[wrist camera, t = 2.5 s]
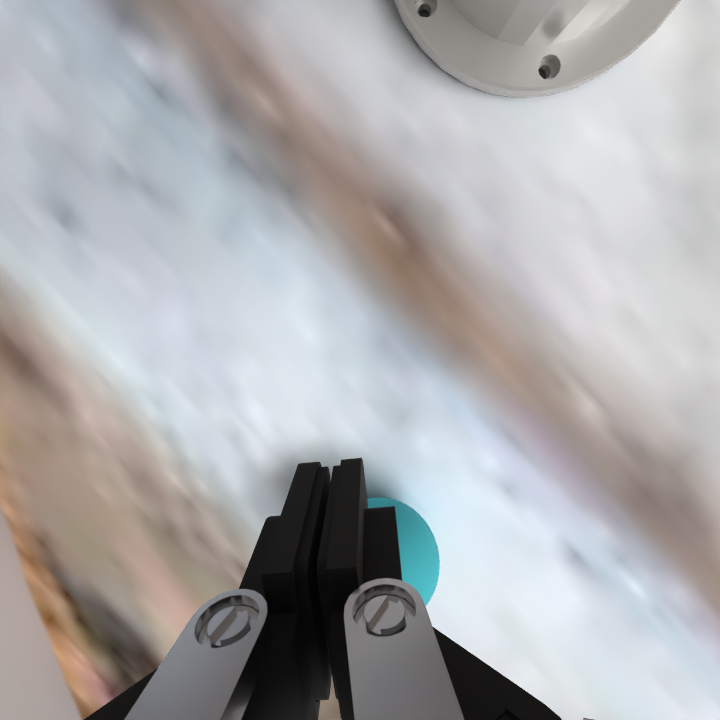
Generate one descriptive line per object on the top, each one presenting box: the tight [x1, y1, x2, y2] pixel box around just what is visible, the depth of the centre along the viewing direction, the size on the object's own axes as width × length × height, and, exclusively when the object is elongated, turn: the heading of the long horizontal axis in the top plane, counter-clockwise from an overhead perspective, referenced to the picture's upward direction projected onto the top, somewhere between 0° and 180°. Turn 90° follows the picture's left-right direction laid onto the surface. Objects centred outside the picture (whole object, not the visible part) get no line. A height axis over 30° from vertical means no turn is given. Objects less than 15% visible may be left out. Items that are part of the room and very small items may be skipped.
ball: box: [367, 497, 440, 606], centre depth 22 cm, size 6×6×6 cm
